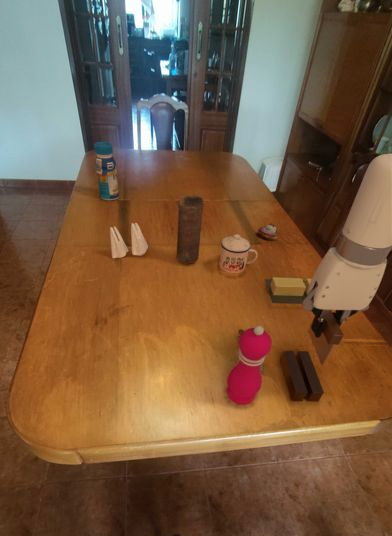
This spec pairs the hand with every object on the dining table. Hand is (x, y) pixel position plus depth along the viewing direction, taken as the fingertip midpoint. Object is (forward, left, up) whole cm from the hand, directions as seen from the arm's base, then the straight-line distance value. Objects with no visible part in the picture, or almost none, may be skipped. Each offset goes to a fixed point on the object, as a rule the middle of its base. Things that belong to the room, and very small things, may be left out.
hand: (322, 332), depth 63 cm
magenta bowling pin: (+10, -9, -15) cm, 21 cm away
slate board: (-8, -33, -15) cm, 37 cm away
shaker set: (+44, -52, -15) cm, 70 cm away
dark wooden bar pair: (0, 0, -15) cm, 15 cm away
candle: (+25, -50, -15) cm, 58 cm away
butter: (-4, -33, -14) cm, 36 cm away
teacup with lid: (+9, -46, -15) cm, 49 cm away
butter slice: (-11, -33, -14) cm, 38 cm away
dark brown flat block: (0, 0, -4) cm, 4 cm away
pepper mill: (+14, +4, -15) cm, 21 cm away
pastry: (-6, -70, -15) cm, 72 cm away
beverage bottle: (+58, -99, -15) cm, 116 cm away
